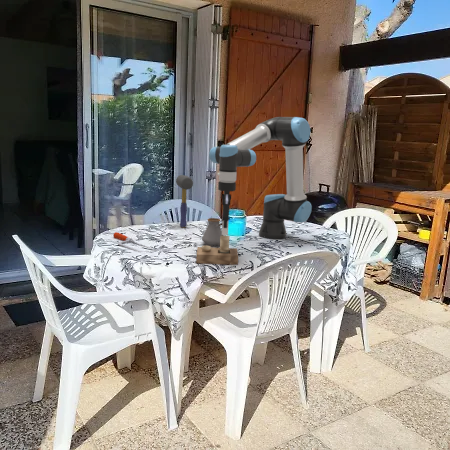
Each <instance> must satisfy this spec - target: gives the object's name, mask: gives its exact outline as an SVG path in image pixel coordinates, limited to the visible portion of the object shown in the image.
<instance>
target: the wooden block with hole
mask: <svg viewBox="0 0 450 450" xmlns="http://www.w3.org/2000/svg"><path fill="white" fill-rule="evenodd" d="M196 247H197V248H196V249H197V250H196V257H195V258H196V260H195V261H196V262H195V264H204V265H205V264H208V265H228V266H229V265H231V266H232V265H236V266H238V264H239V253H238V248H234V247H233V248H232V247H229V253H220V247H212V246H208V245H206V244H205V245H202V246H201V247H200V246H196Z"/></svg>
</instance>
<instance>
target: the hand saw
mask: <svg viewBox="0 0 450 450" xmlns="http://www.w3.org/2000/svg"><path fill="white" fill-rule="evenodd" d="M112 235H113V238H114V239H117V240H120V241H119V242H118V243H117V244H118V245H119V246H120V247H122V248H125V249H128V250H132V251H134V252H137V251H138V253H141V252H146V253H152V252H157V251H156V250H158V249H156V250H154V249H152V247H150V246H148V245H145V244H142V243H139V242H137V241H135V240H134V239H133V238H132V237H129V236H127V235H125V234H122V233H121V232H114V233H113V234H112ZM125 243H133V244H138V245H140V246H143V247H146V248H149V249H151V250H146V251H142V250H139V249H136V248H133V247H131V246H128V245H125ZM149 251H150V252H149ZM151 251H152V252H151Z"/></svg>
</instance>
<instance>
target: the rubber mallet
mask: <svg viewBox="0 0 450 450" xmlns="http://www.w3.org/2000/svg"><path fill="white" fill-rule="evenodd" d="M175 183H176V185H177V186H178V187H179V188H180V189H181V202H180V208H179V209H180V211H179V212H180V221H179V226H180V228H182V229H185V228H187V225H188V224H187V215H188V206H187V205H188V204H187V190H190V189H192V187H193V186H194V180H193V179H192V178H191V177H190V176H188V175H183V174H180V175H177V177H176V178H175Z"/></svg>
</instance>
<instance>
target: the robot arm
mask: <svg viewBox="0 0 450 450" xmlns="http://www.w3.org/2000/svg"><path fill="white" fill-rule="evenodd" d="M310 136H311V126H310V123H309V122H308V121H307V120H306V118H303V117H299V116H276V117H273V118H269V119H267V120H265V121H262V122H260V123H258V124H257V125H256V127H255V128H254V129H252V130H250V131H248V132H247V133H245V134H243V135H241V136H239V137H237V138H235V139H233V140H231V141H230V142H228V143H226V144H221V146H213V147H211V149H210V150H209V154H208V156H209V160H210V162H211V163H214V164H217V165H219V167H218V168H219V169H218V173H217V176H218V180H219V181H218V184H217V185H218V187H217V189H218V191H220V192H223V193H222V194H221V199H222V200H221V201H222V203H221V204H222V215H221V217H222V218H220V222H221V221H222V222H221V223H222V225H221V230H222V235H227V236H229V220H231V218H230V206H231V200H232V194H230V192H235V191H236V190H237V182H236V181H237V174H238V173H237V171H238V170H237V169H238V167H239V168H242V167H243V168H245V167H246V168H247V167H251V166H254V165H255V163H256V162H257V155H256V152H255V151H254V150H253V148H254V147H256V146H259V145H261V144H263V143H267V142H269V141H281V147H283V148H284V149H285V171H286V172H285V174H286V175H285V176H286V194H283V193H276V194H275V193H274V194H266V195H265V196H264V202H263V212H262V213H263V214H262V223H261V225H260V227H259V230H258V236H259V237H261V238H264V239H268V238H269V239H270V240H281V239H282V240H283V239H285V238H287V230H286V229H287V228H286V227H285V226H286V225H285V221H289V222H294V223H300V224H302V223H305V222H306V221H308V219H309V217H310V216H311V213H312V208H313V206H312V203H311V202H310V201H308V199H307V198H308V197H307V195H306V194H305V192H304V153H303V152H304V151H303V150H304V149H303V148H304V147H305V146H306V144H307V143H306V142H308V141H309V139H310Z"/></svg>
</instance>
